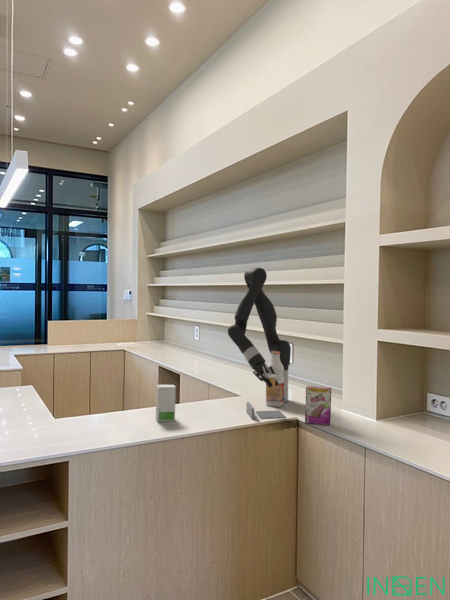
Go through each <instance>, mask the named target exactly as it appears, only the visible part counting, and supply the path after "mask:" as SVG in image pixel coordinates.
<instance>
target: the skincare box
mask: <svg viewBox="0 0 450 600" xmlns="http://www.w3.org/2000/svg"><path fill="white" fill-rule="evenodd" d="M176 388H177V387H176V385H175V384H156V402H155V405H156V406H155V419H156V421H157V422H175V419H176Z"/></svg>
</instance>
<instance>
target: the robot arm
mask: <svg viewBox="0 0 450 600" xmlns="http://www.w3.org/2000/svg"><path fill="white" fill-rule="evenodd" d="M243 276H244V281H245V284H246V286H247V289H248V290H247V292H246V294H245V295H244V297H243V298H242V299H241V301H240V302H239V304H238V306H237V308H236V312H235V314H234V324H231V325H230V326H229V327H228V329H227V335H228V336H229V338H230V339H231V340H232V342H233V343H234V344H235V345H236V346H237V348H238V349H239V351H240V353H241V354H242V355H243V357H244V360H246V362H247V363H248V365H249V366H250V368H251V369H252V370H253V371H252V374H253V375H254V376H255V377H256V378H257V379H258V380H259V381H260V382H264V383H265V385H266V384H267V386H268V387H269V388H270V387H272V385H273V384H272V383H271V382H270V380H269V379H268V377H267V374H268V373H269V374H275V372H274V370H273V368H272V366H270V367H268V366H267V365H268V364H266V359H265V358H264V357H263V355H262V354H261V353H260V351H259V350H258V349H257V348H256V347H255V345H254V344H253V343H252V341H251V340H250V339H249V338H248V337H247V336H246V333H247V332H246V331H247V325H248V321H249V317H250V315H251V312H252V309H253V307H254V306H255V308H256V312H257V315H258V318H259V320H260V323H261V326H262V329H263V331H264V332H263V333H264V335H265V339H266V344H267V347H268V350H269V353H270V354H271V351H279V352H280V355H279V357H280V361H281V363H282V365H283V366H284V372H283V376H284V403H287V402H288V401H289V367H290V363H291V353H292V352H291V351H292V349H291V344H290V342H289V341H287V340H284V339H280V338H279V335H278V332H277V329H276V328H277V322H278V320H277V319H278V316H277V312H276V309H275V307H274V306H275V305H274V304H273V302H272V301H271V299H269V297H268V296H267V295H266V294H265V292H264V289H262V288H263V287H264V284H265V283H266V280H267V272H266V270H265V268H263V267H254V268H253V267H251V268H248V269H246V270H245V271H244V274H243ZM275 375H276V374H275ZM277 385H278V382H277V381H276V379H275V386H277Z"/></svg>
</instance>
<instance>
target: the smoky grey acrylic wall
mask: <svg viewBox="0 0 450 600" xmlns="http://www.w3.org/2000/svg"><path fill="white" fill-rule="evenodd" d="M245 408H246V414H247V415H248V417H250V419H251V420H252V421H253V420H255V407H254V406H253V404H251V403H250V401H246V406H245Z"/></svg>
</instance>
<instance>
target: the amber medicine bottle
mask: <svg viewBox="0 0 450 600" xmlns="http://www.w3.org/2000/svg"><path fill="white" fill-rule="evenodd" d="M267 377H268V379H269V380H270V382H271V383H272V384H273V385H272V387H270V388H269V387H268V386H267V384H266V383H265V395H266V394H269V395H274V394H275V377H276V375H275V374H267Z"/></svg>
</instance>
